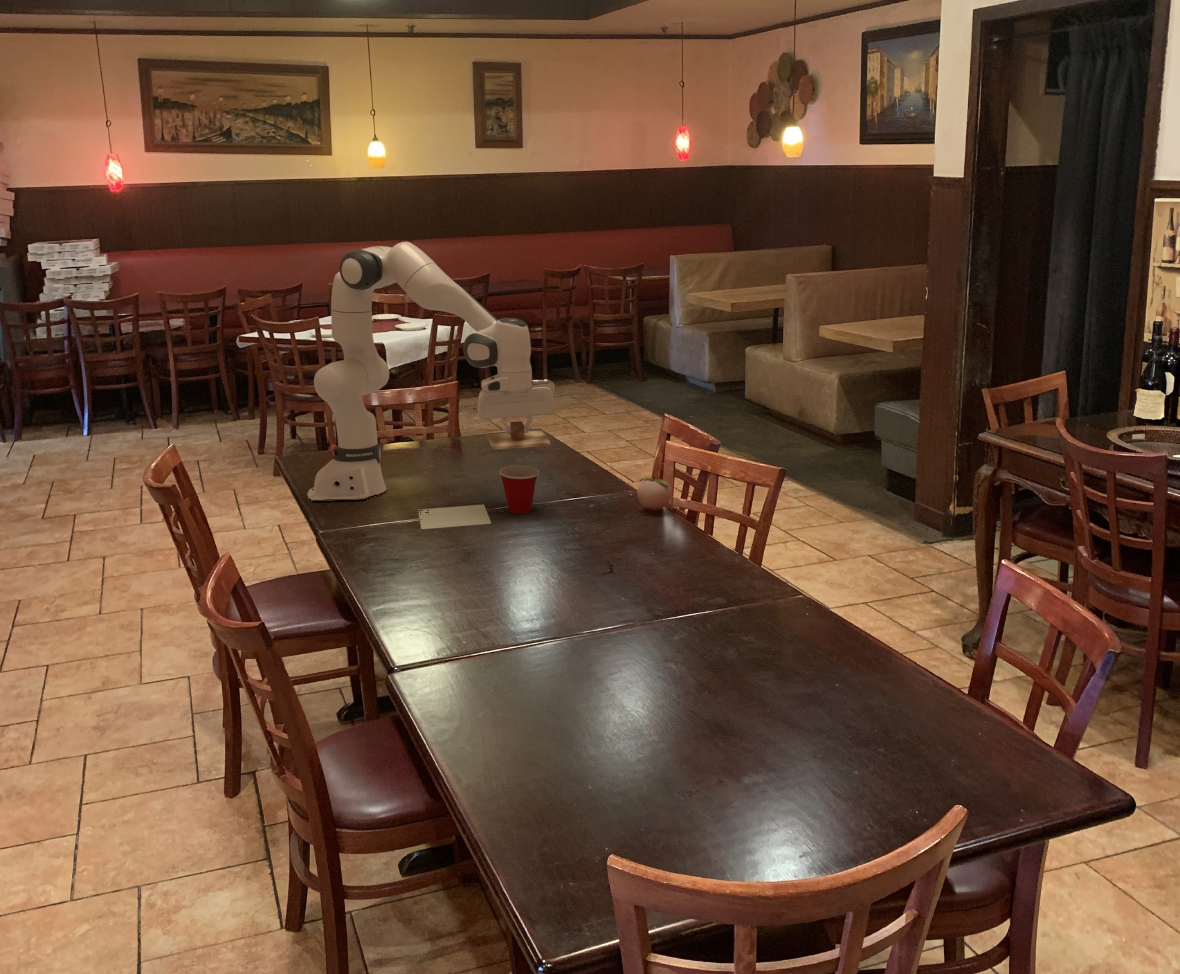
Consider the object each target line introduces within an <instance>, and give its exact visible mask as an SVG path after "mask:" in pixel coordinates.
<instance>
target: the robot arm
mask: <svg viewBox="0 0 1180 974" xmlns="http://www.w3.org/2000/svg"><path fill="white" fill-rule="evenodd" d="M396 285H399V287H400V288H401V289H402V290H403V291H404V292H405V294H406V295H407V296H408V297H409V298H410V299H411V300H412V301H413V302H414V303H415V304H417V305H418V306H420V307H421V308H422V309H425V310H429V311H436V312H437V311H438V312H444V313H449V314H452V315H455V316H457V317H459V318H461V319H462V320H464V321H465V322H466V324H468V325H469V326H470V327H471V328H472V329H473V330H474V332H472V333H471V334H469V335H467V336H466V338H465V340H464V342H463V347H462V351H463V352H462V353H463V355H464V359H465V360H466V361H467V363H468V364H469V365H470V366H472V367H474V368H477V369H478V368H479V369H480V368H481V369H484V368H489V367H494V366H495V367H496V368H497V374H495V375H493V376H490V377H487V378H484V379H482V380H481V383H480V385H481V390H480V391H479V394H478V399H477V416H478V417H479V418H480V419H481V420H490V419H491V420H492V419H500V421H501V422H502V424H503V426H504V427H505V433H506V434H512V427H511V426H510V425H508V424H507V422H508V418H520V417H521V418H522V417H526V418H525V419H526V420H527V421H526V423H525V424H524V433H529V431H530V426H531V424H532V423H533V417H535V416H537V417H538V416H550V415H554V413H555V412H556V405H555V404H556V403H555V398H554V395H555V393H556V392H555V391H556V389H555V388H556V385H555V382H553V381H552V380H549V379H533V375H532V374H533V371H532V370H533V369H532V364H531V354H532V346H531V336H530V330H529V326H528V325H527V323H526V322H525V321H524V320H522V319H519V318H514V317H502V318H499V319H498V318H497V317H496V316H495V315H493V314H492V313H491V312H490V311H489V310H488V309H487V308H486V307H485V306H484V305H483V304H481V303H480V301H478V300H477V299H476V297H474V296H473V295H472V294H471V293H469V292H468V291H467V290H465V289H464V288H463V287H461V286H460V285H459V284H458V283H456V282H455V281H454V280H453V279H452V278H450V276H449V275H448V274H447V273H445V272H444V271H443V270H442V269H441V267H439V266H438V265H437V263H436V262H435V261H434V260H433V259H432V258H430V257H429V255H427V253H425V252H424V251H423V250H422V249H421V248H419V247H418V246H416V245H415V244H413V243H412V242H410V241H401V242H399V243H396V244H395V245H394V246H393V245H385V246H384V245H383V246H382V245H375V246H368V247H366V248H361V249H359V248H358V249H353V250H351V251H349V252H348V253H346V254H345V255H343V257H342V258H341V260H340V263H339V271H338V272H337V273H336V274H335V275H334V278H333V283H332V288H331V303H330V304H331V306H330V313H331V314H330V315H331V316H330V317H331V319H330V320H331V321H330V322H331V337H332V338H333V340H334V342H336V343H338V344H339V345H340V347H341V350H342V353H343V360H338V361H333V362H330V363H328V364H326V365H324V366H322V367H321V368H320V369H318V370H317V371H316V372H315V375H314V378H313V386H314V389H315V392H316V393H317V395H318V396H319V398H321V399H322V400H323V401H324V402H326V403H327V405H328V406H329V408H330V410H331V412H332V414H333V417H334V421H335V425H336V433H337V434H336V435H337V443H338V444H337V445H336V444H332V445H331V446H330V452H331V458H332V459H331V460H330V461H329V462H327V463H326V465H324V466H323V467H322V468H321V469H319V471H317V473H316V475H315V477H314V486H313V487H311V488H310V489H309V490H308V491H307V495H306V496H308V497H307V499H308V498H310V499H311V500H324V499H326V500H327V499H357V498H358V499H359V498H360V499H361V498H366V497H368V496H372V495H375V494H379V493H381V492H384V491H385V490H386V489H387V490H388V488H387V485H386V482H385V481H384V477H383V473H382V472H383V471H382V468H381V457H382V456H381V447H380V443H379V442H378V433H377V432H378V431H377V420H376V416H375V415H374V414H373V413H372V412H370V411H369V410H367V408H366V406H365V404H364V400H363V396H367V395H370V394H372V393H373V394H374V393H375V392H377V391H378V390H381V389H382V388H383V387H385V386H386V385H387V383H388V381H389V380H390V368H389V366H388V364H387V362H386V361H385V360H384V358H382V357H381V356H380V355H379V353H378V350H377V347H376V345H375V341H374V335H373V310H372V309H373V307H372V306H373V305H372V303H373V302H372V301H373V300H372V299H373V297H372V296H373V294H374V291H375V290H377V289H378V290H379V289H381V288H386V287H390V286H396ZM312 489H314V490H312Z"/></svg>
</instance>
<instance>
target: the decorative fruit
mask: <svg viewBox="0 0 1180 974" xmlns="http://www.w3.org/2000/svg"><path fill="white" fill-rule="evenodd" d="M639 482H641V483H640V484H639V485H638V487H637V490H636V494H637V498H638V501H639V503H640V505H641V506H643V507H644V508H646V509H648V510H650V511H652V510H653V511H652V512H656V511H659V510H661V509H663V508H664V507H666V506H667V505H668V503H669V502H670V500H671V498H672V495H673V494H672V493H673V492H672V488H671V486H670V484H669V483H668V482H667V481H666V480H664V479H658V478H657V479H655V474H653V477H649V476H648V477H641V478H640V479H639Z"/></svg>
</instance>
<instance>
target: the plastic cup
mask: <svg viewBox="0 0 1180 974" xmlns="http://www.w3.org/2000/svg"><path fill="white" fill-rule="evenodd" d="M498 474H500V478H501V482H502V485H503V490H504V495H505V500H506V502H507V507H508V511H509V513H510V514H513V515H525V514H528V513H531V511H532V509H533V501H534V495H535V488H536V482H537V479H538V476H539V474H540V470H539V468H536V467H534V466H530V465H522V464H521V465H520V464H517V465H516V464H514V465H507V466H503V467H501V468H499V471H498Z"/></svg>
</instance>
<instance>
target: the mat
mask: <svg viewBox="0 0 1180 974" xmlns="http://www.w3.org/2000/svg"><path fill="white" fill-rule="evenodd" d="M421 509H422V508H421ZM422 510H423V511H420V512H421V513H420V512H419V511H418V512H419V513H418V518H419V523H420V529H421V530H428V529H429V530H430V529H431V530H432V529H443V528H444V529H445V528H454V527H464V526H465V527H467V526H478V525H489V524H492V521H491V519H490V516H489V514H488V511H487V509H486V506H485V504H475V505H474V504H472V505H460V506H448V507H435V508H424V509H422ZM427 510H429V511H427ZM425 512H429V513H425ZM420 514H421V515H420ZM428 514H429V515H428ZM420 519H422V520H420Z"/></svg>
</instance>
